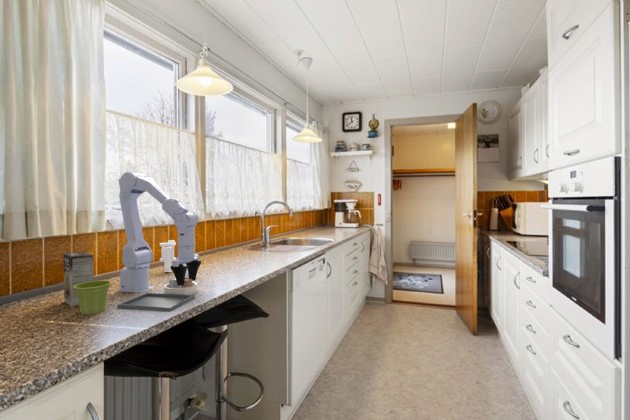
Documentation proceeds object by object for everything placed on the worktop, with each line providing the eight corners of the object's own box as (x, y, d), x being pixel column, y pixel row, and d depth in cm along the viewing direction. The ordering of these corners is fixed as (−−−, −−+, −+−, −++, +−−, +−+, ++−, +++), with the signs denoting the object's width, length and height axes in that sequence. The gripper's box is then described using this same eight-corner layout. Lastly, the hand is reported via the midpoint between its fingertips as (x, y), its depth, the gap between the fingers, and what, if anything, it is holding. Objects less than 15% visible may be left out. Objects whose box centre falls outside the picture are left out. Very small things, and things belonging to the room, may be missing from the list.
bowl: (157, 296, 118) (157, 287, 118) (175, 288, 129) (175, 280, 129) (186, 298, 116) (186, 289, 116) (202, 290, 127) (202, 281, 127)
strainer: (179, 271, 161) (179, 240, 161) (167, 274, 155) (167, 241, 155) (168, 270, 164) (168, 239, 164) (156, 272, 158) (156, 241, 158)
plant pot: (83, 320, 95) (82, 289, 95) (68, 314, 100) (67, 285, 100) (117, 311, 103) (117, 282, 103) (101, 305, 108) (101, 279, 108)
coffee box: (63, 301, 112) (62, 253, 112) (85, 297, 117) (85, 251, 116) (71, 307, 106) (70, 256, 106) (94, 303, 111) (93, 254, 110)
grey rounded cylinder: (167, 293, 121) (167, 280, 121) (171, 290, 125) (171, 278, 124) (178, 292, 121) (177, 280, 121) (181, 289, 125) (181, 277, 125)
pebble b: (179, 293, 120) (179, 280, 120) (185, 290, 124) (184, 278, 124) (188, 293, 120) (188, 281, 120) (194, 291, 124) (194, 278, 123)
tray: (117, 309, 104) (117, 304, 104) (147, 296, 118) (147, 292, 118) (170, 312, 101) (170, 307, 101) (194, 299, 115) (194, 295, 115)
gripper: (185, 248, 114) (185, 288, 114) (206, 243, 128) (206, 278, 128) (166, 247, 115) (166, 287, 115) (189, 242, 129) (189, 278, 130)
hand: (186, 282), depth 122 cm, fingers open, 7 cm apart
